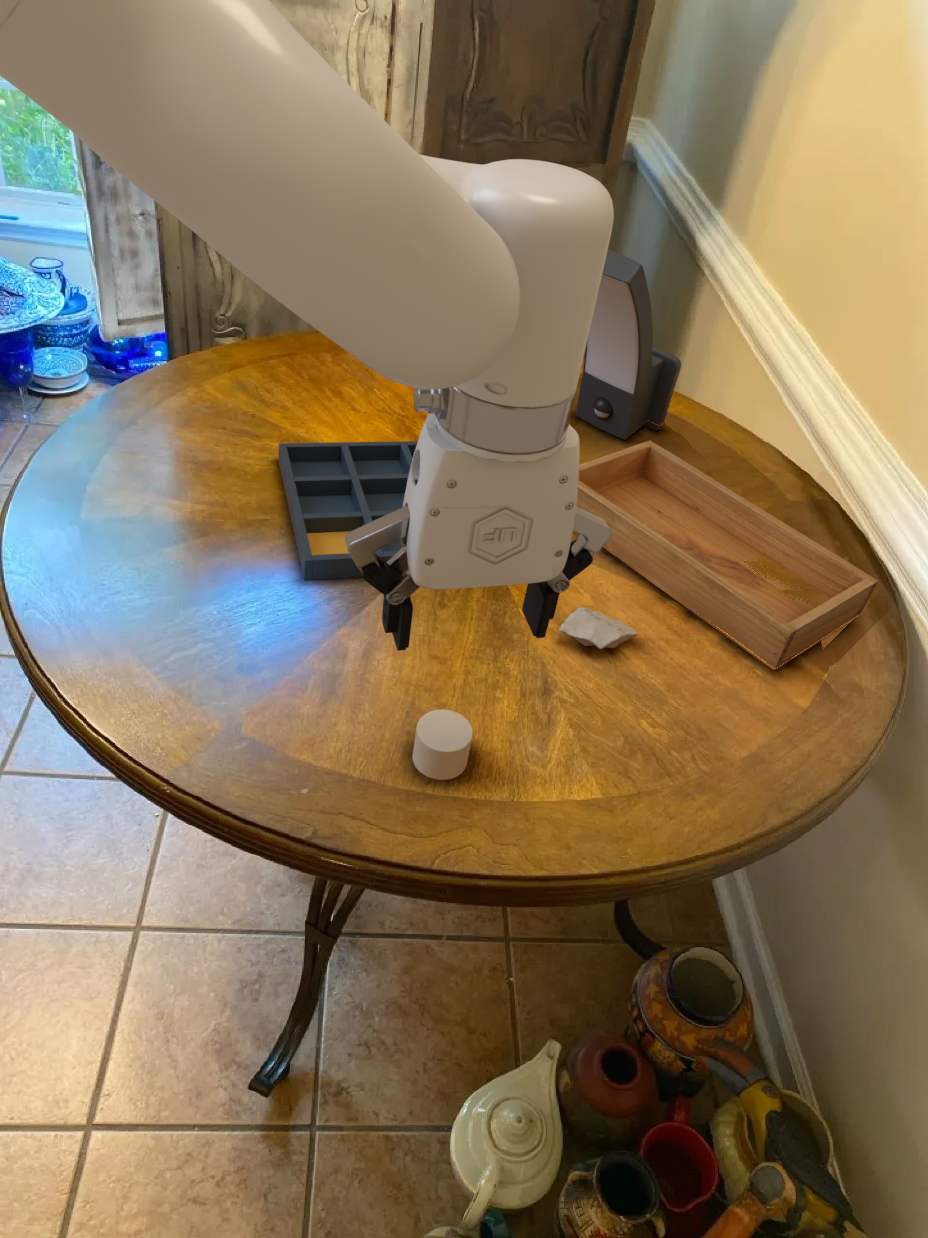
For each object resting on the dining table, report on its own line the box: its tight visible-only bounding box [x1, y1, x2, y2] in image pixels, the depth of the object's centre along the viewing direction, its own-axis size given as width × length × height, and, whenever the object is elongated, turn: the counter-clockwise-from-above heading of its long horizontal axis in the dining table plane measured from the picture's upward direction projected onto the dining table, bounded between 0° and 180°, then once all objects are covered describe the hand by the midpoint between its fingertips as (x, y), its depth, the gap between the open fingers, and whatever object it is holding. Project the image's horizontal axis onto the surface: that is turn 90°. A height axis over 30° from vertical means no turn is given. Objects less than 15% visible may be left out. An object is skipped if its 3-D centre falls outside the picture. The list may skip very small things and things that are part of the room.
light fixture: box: [575, 248, 682, 441], centre depth 110 cm, size 11×17×24 cm, turn 140°
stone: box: [558, 606, 639, 650], centre depth 86 cm, size 6×2×6 cm
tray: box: [576, 440, 879, 671], centre depth 96 cm, size 31×15×6 cm, turn 39°
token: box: [411, 708, 474, 781], centre depth 72 cm, size 4×4×3 cm
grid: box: [278, 440, 418, 581], centre depth 97 cm, size 21×21×2 cm
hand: (466, 630), depth 63 cm, fingers open, 9 cm apart
